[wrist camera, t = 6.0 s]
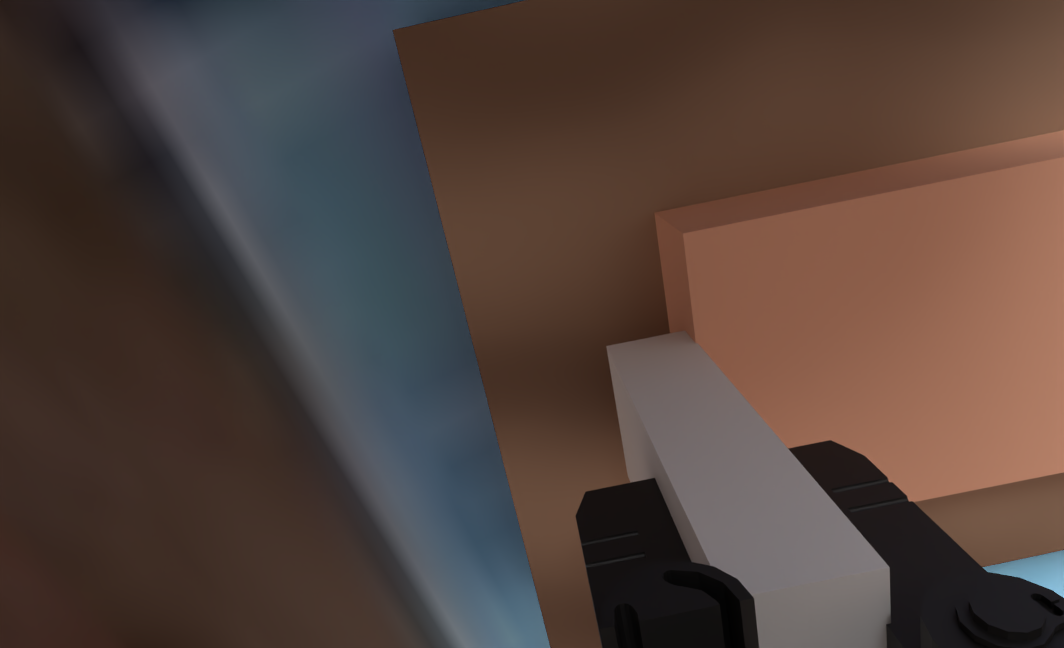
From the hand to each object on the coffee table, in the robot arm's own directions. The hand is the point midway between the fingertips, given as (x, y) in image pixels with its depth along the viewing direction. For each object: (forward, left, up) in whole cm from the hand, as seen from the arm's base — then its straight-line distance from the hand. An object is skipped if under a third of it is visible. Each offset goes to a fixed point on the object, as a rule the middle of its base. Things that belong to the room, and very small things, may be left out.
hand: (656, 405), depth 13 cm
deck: (0, +5, -4) cm, 6 cm away
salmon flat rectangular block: (0, +5, -1) cm, 5 cm away
